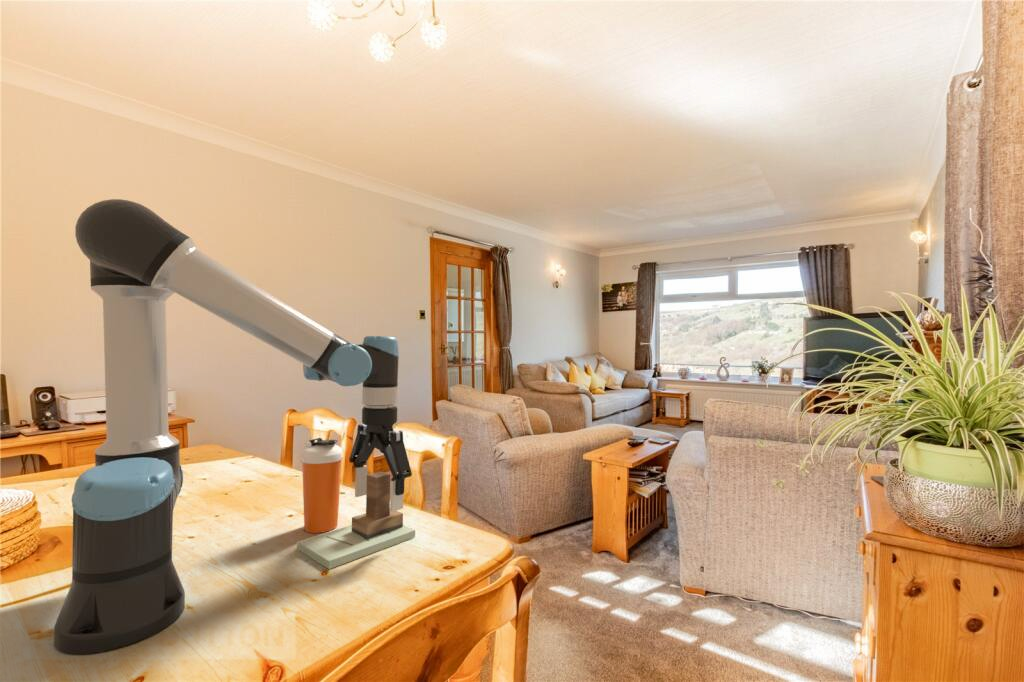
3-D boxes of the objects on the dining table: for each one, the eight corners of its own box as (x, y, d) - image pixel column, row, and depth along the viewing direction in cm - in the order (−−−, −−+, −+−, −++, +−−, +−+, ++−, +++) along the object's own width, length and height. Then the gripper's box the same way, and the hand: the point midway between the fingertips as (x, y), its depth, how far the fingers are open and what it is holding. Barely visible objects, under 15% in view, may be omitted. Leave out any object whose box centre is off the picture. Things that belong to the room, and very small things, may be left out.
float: (367, 538, 99) (368, 481, 99) (351, 531, 103) (352, 475, 103) (402, 526, 106) (403, 472, 106) (386, 520, 109) (387, 468, 110)
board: (329, 569, 89) (329, 560, 89) (297, 549, 97) (297, 541, 97) (415, 536, 104) (415, 529, 104) (380, 522, 112) (381, 515, 112)
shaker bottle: (327, 536, 104) (328, 445, 104) (291, 532, 105) (292, 443, 105) (349, 521, 112) (350, 437, 112) (315, 518, 114) (316, 435, 114)
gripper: (429, 409, 99) (427, 511, 99) (363, 399, 115) (362, 486, 115) (400, 413, 93) (397, 521, 93) (335, 402, 110) (333, 493, 110)
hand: (378, 502), depth 104 cm, fingers open, 13 cm apart
